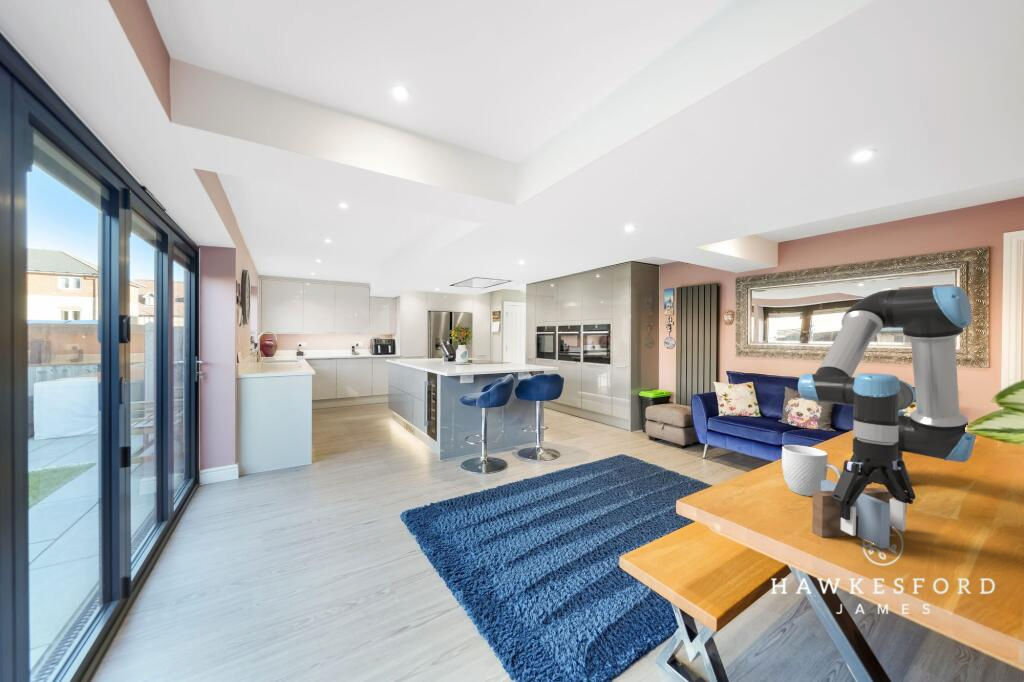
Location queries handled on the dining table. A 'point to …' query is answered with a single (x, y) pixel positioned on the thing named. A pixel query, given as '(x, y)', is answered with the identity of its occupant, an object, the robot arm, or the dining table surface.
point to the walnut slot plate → (837, 511)
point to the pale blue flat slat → (869, 517)
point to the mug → (805, 468)
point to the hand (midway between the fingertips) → (872, 530)
